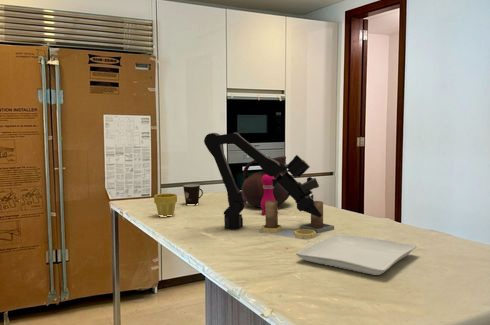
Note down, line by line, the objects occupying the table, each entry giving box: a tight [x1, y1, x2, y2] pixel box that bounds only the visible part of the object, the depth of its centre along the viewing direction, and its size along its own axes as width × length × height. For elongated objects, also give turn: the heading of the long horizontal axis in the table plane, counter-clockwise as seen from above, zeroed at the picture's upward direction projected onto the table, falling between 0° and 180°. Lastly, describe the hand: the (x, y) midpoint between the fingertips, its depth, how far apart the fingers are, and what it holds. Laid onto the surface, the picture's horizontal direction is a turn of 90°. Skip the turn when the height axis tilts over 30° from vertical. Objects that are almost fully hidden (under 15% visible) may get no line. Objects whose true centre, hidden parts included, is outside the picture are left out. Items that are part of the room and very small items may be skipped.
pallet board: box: [256, 224, 320, 243], centre depth 158 cm, size 22×9×3 cm, turn 51°
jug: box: [240, 155, 290, 208], centre depth 216 cm, size 25×25×25 cm
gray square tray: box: [299, 222, 335, 234], centre depth 163 cm, size 9×9×2 cm
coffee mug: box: [182, 183, 204, 205], centre depth 223 cm, size 12×9×10 cm
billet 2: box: [310, 200, 324, 229], centre depth 163 cm, size 5×5×11 cm
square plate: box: [295, 233, 417, 276], centre depth 131 cm, size 27×27×4 cm
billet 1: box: [264, 200, 279, 228], centre depth 162 cm, size 5×5×11 cm
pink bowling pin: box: [260, 174, 276, 216], centre depth 196 cm, size 7×7×20 cm
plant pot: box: [153, 192, 178, 216], centre depth 197 cm, size 10×10×10 cm
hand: (320, 215), depth 162 cm, fingers closed on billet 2, 5 cm apart
